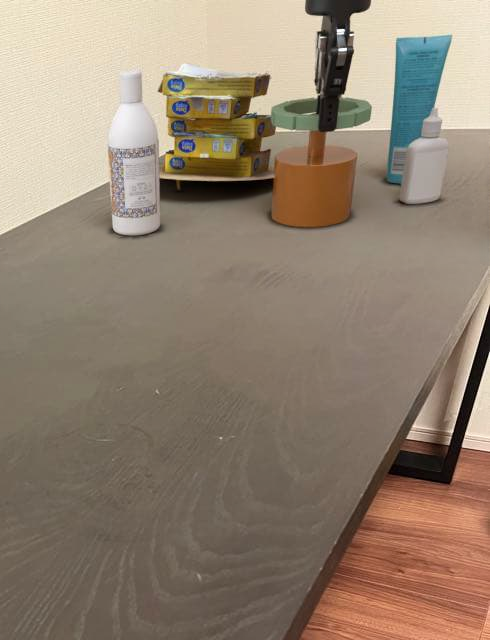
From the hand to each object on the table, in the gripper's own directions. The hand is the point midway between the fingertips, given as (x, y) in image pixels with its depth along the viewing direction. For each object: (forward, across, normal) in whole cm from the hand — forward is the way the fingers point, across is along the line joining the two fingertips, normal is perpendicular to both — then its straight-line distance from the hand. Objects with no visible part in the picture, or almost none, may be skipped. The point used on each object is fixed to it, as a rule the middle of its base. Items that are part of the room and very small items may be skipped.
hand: (325, 128), depth 102 cm
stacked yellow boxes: (+13, +26, +14) cm, 32 cm away
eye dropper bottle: (+13, +10, -16) cm, 23 cm away
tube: (+13, +20, -16) cm, 29 cm away
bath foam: (+13, +4, +25) cm, 28 cm away
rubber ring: (0, +6, 0) cm, 6 cm away
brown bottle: (+12, +6, 0) cm, 14 cm away
